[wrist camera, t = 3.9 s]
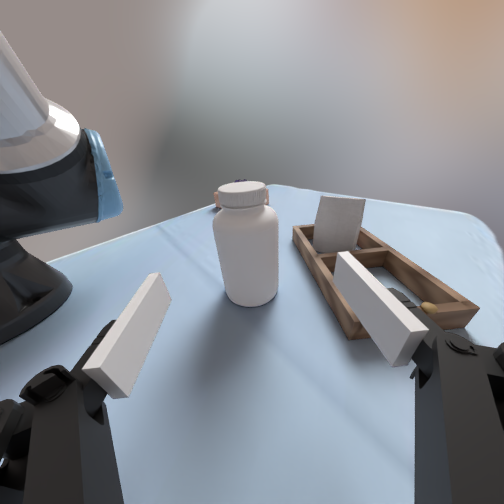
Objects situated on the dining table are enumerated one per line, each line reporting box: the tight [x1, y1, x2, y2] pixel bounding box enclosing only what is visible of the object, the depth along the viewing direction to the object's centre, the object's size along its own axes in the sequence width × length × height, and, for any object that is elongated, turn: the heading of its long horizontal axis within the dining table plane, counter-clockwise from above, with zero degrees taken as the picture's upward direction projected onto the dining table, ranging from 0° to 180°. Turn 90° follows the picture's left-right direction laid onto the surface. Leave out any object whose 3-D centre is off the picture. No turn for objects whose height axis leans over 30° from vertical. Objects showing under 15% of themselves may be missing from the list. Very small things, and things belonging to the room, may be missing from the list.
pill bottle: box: [213, 181, 278, 307], centre depth 24 cm, size 8×8×15 cm
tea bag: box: [312, 196, 366, 253], centre depth 32 cm, size 4×7×10 cm, turn 52°
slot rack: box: [292, 224, 480, 340], centre depth 29 cm, size 24×12×3 cm, turn 3°
